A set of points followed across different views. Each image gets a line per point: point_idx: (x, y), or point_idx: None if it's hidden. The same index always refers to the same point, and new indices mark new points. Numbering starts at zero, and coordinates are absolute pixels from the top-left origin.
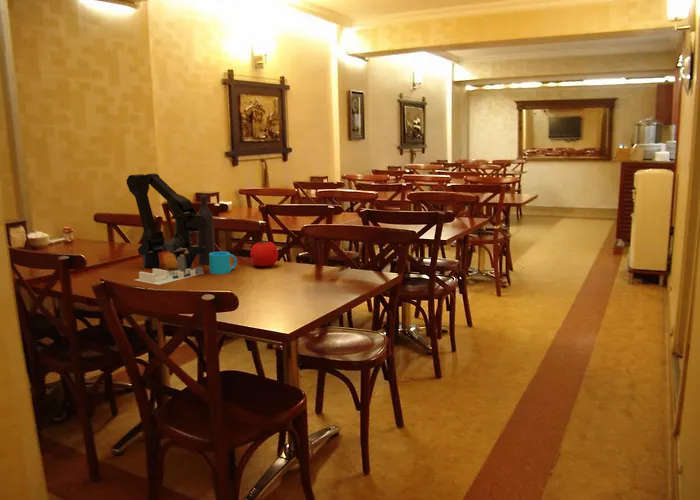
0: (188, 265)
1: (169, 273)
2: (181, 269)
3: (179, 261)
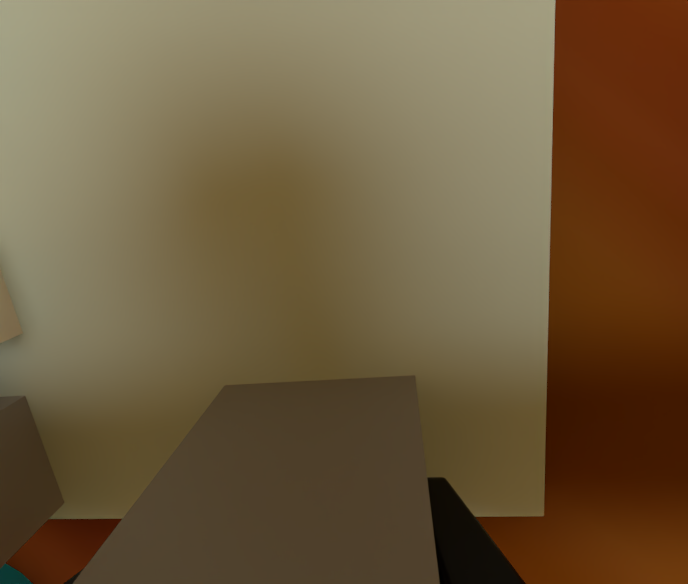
0: None
1: (372, 127)
2: (298, 406)
3: (318, 568)
